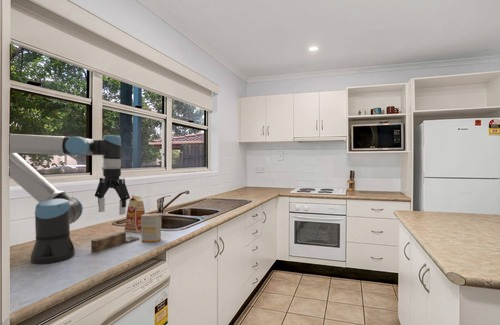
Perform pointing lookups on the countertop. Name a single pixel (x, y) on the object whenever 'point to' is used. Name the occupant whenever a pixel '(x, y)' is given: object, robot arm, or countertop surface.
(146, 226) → the supplement box
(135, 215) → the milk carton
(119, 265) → the countertop surface
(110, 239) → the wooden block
